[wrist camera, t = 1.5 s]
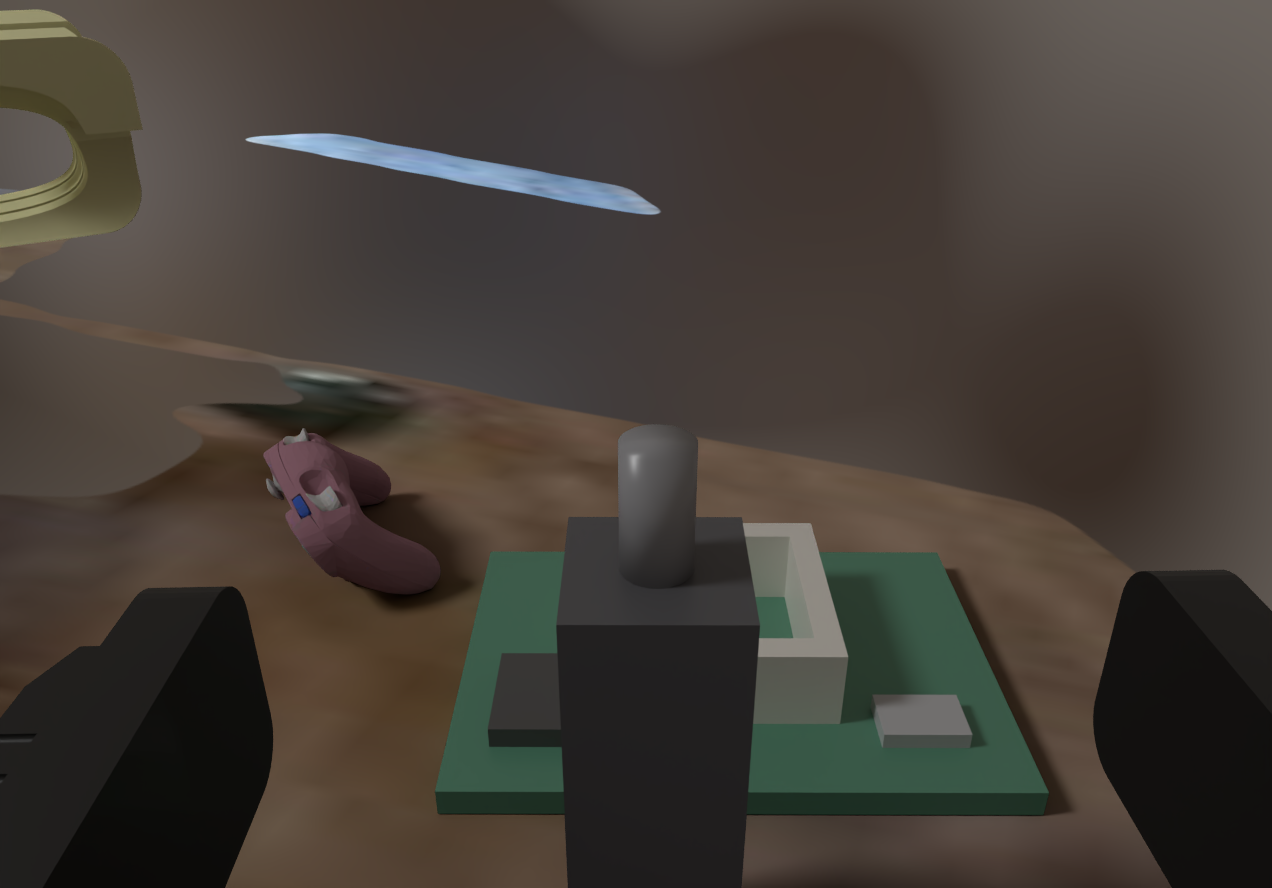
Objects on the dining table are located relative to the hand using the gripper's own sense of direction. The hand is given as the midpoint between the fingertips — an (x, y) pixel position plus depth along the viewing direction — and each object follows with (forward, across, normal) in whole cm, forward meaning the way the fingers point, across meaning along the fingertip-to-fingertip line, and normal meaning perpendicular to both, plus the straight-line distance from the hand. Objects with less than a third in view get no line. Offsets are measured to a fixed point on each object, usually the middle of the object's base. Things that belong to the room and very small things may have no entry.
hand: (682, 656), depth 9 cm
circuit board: (+24, -3, +20) cm, 31 cm away
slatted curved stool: (+90, +55, +19) cm, 107 cm away
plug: (+11, 0, +20) cm, 23 cm away
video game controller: (+32, +13, +20) cm, 40 cm away
